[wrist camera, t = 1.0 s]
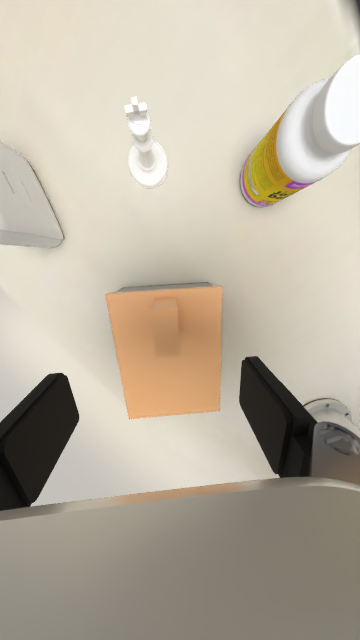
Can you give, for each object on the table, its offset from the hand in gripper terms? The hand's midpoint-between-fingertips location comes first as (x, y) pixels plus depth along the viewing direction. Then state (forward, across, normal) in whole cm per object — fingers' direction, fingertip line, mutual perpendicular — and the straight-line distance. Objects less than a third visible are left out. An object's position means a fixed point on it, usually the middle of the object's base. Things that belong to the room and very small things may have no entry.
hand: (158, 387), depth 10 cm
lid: (+14, 0, +6) cm, 15 cm away
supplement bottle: (+20, -14, -16) cm, 29 cm away
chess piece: (+20, 0, -18) cm, 27 cm away
